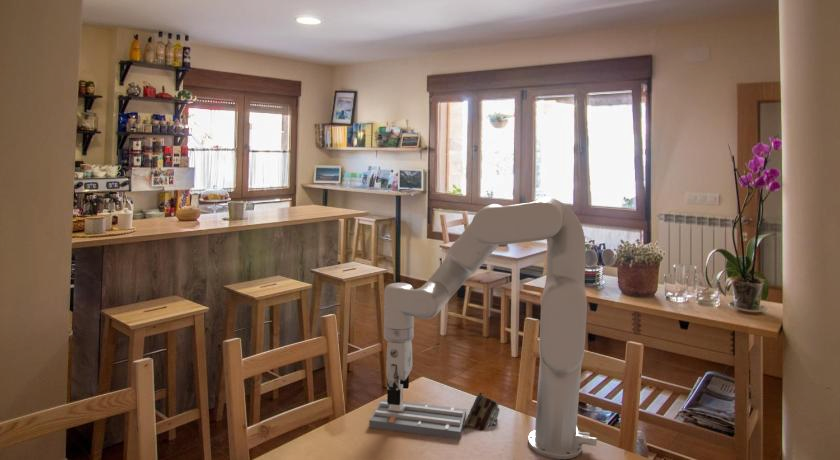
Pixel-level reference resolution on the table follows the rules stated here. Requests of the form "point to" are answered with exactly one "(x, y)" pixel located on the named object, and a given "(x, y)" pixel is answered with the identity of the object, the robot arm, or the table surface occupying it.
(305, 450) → the table surface
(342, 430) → the table surface
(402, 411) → the fader knob
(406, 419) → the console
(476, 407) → the chocolate cake
